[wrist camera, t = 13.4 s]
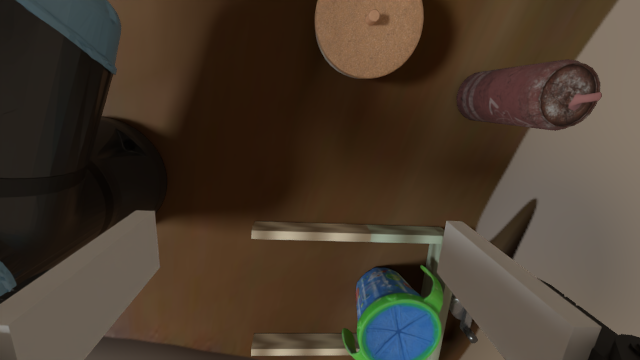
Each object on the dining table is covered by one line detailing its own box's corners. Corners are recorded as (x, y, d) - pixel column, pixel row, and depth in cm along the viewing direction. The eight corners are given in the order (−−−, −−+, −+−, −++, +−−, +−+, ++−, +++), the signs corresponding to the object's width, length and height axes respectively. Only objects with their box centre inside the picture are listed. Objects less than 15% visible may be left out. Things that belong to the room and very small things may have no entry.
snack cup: (403, 233, 44) (433, 272, 34) (438, 281, 46) (475, 330, 36) (318, 290, 45) (324, 344, 35) (357, 334, 48) (372, 394, 38)
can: (501, 115, 40) (605, 123, 26) (455, 123, 40) (536, 137, 26) (501, 68, 38) (611, 51, 25) (453, 77, 38) (538, 65, 24)
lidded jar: (416, 24, 36) (455, -1, 27) (364, 99, 38) (385, 99, 29) (345, -35, 34) (361, -84, 25) (294, 48, 36) (293, 31, 27)
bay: (254, 339, 47) (247, 373, 41) (254, 221, 41) (247, 241, 36) (419, 339, 49) (435, 371, 43) (440, 227, 44) (462, 246, 38)
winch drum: (433, 307, 47) (456, 343, 41) (440, 272, 46) (465, 303, 39) (462, 307, 48) (490, 343, 41) (470, 273, 46) (500, 304, 39)
